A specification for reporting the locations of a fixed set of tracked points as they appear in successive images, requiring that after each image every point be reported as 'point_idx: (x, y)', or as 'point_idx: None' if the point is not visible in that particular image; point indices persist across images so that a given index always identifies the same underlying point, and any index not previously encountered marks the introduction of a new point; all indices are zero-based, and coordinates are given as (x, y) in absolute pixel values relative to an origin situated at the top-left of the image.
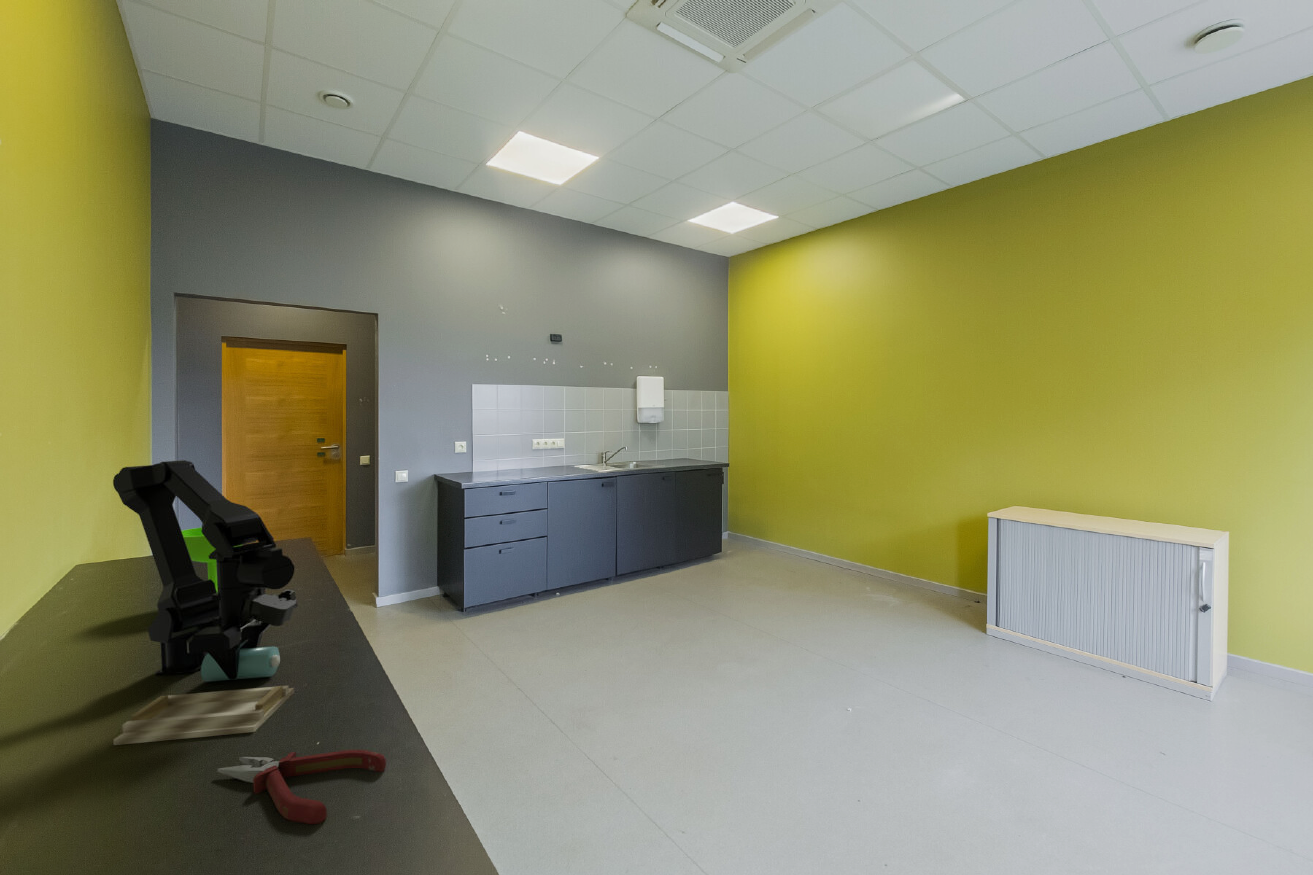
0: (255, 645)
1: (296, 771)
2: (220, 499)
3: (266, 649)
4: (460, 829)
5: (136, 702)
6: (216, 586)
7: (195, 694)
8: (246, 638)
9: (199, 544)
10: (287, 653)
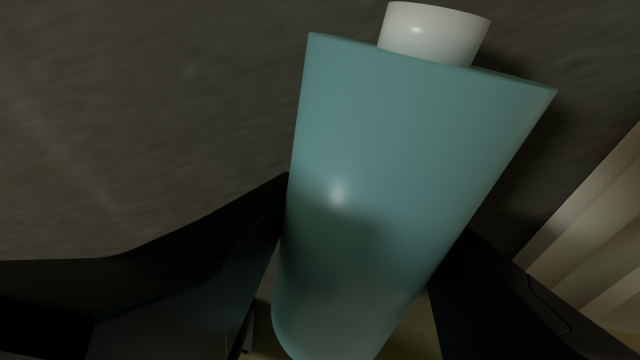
0: (259, 228)
1: None
2: None
3: (486, 123)
4: None
5: (404, 349)
6: None
7: (610, 297)
8: (229, 318)
9: None
10: (101, 54)
